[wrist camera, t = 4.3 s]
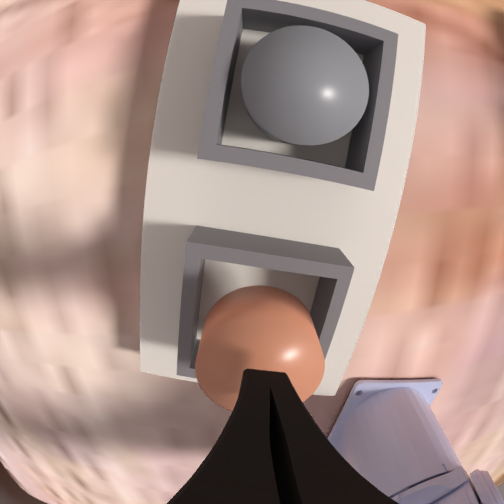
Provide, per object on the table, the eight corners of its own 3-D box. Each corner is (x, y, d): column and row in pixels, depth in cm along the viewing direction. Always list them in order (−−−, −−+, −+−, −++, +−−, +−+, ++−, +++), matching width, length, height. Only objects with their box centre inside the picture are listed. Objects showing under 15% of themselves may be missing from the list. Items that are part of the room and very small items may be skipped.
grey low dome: (339, 155, 13) (357, 157, 11) (234, 134, 13) (230, 132, 11) (355, 58, 12) (375, 44, 9) (252, 36, 11) (252, 15, 9)
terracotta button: (298, 380, 14) (305, 419, 12) (199, 368, 14) (191, 407, 11) (325, 293, 13) (341, 326, 10) (209, 277, 12) (200, 308, 10)
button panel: (328, 376, 20) (343, 424, 16) (148, 352, 19) (129, 399, 15) (409, 33, 13) (450, 10, 9) (194, -13, 12) (178, -54, 8)
